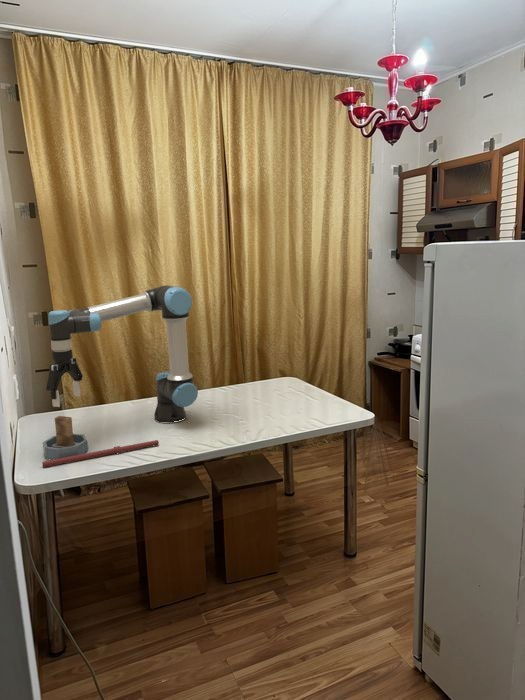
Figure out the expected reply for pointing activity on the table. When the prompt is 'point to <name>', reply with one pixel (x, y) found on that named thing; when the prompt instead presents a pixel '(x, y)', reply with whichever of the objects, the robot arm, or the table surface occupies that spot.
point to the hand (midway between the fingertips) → (67, 401)
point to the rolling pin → (98, 453)
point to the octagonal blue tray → (60, 452)
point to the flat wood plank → (64, 431)
